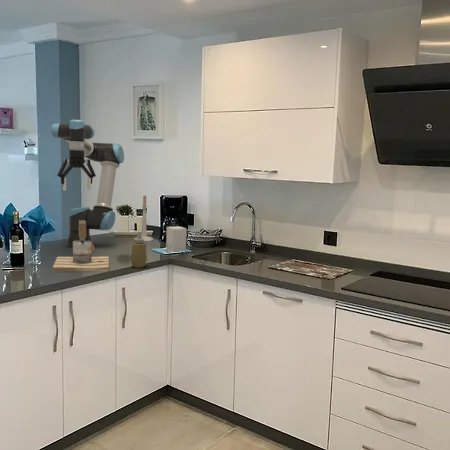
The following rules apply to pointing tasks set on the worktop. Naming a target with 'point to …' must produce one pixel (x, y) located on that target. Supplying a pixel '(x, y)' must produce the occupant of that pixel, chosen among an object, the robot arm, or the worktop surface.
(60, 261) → the base
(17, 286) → the worktop surface
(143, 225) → the candlestick
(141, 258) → the squeeze bottle
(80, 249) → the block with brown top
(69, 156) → the robot arm
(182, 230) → the supplement box
